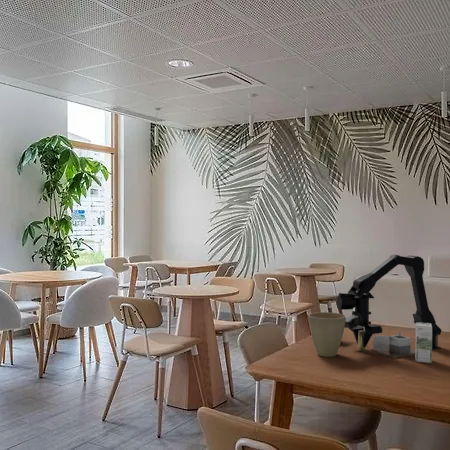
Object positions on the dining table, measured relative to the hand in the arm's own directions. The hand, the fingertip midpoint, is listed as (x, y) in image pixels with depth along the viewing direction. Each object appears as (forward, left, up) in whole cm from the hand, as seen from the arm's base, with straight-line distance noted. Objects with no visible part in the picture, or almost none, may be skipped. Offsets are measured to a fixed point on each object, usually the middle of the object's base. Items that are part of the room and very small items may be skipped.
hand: (361, 346), depth 211 cm
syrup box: (-11, +23, -2) cm, 25 cm away
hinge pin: (0, 0, -2) cm, 2 cm away
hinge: (-10, +9, -2) cm, 14 cm away
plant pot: (+17, -1, -2) cm, 17 cm away
